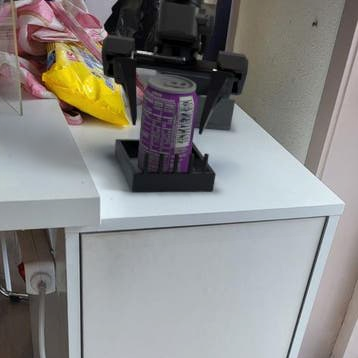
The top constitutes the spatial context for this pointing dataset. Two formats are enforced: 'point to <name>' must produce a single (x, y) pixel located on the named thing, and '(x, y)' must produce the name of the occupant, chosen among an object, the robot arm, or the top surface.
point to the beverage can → (167, 122)
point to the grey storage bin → (221, 113)
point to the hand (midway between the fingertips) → (167, 128)
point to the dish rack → (164, 180)
